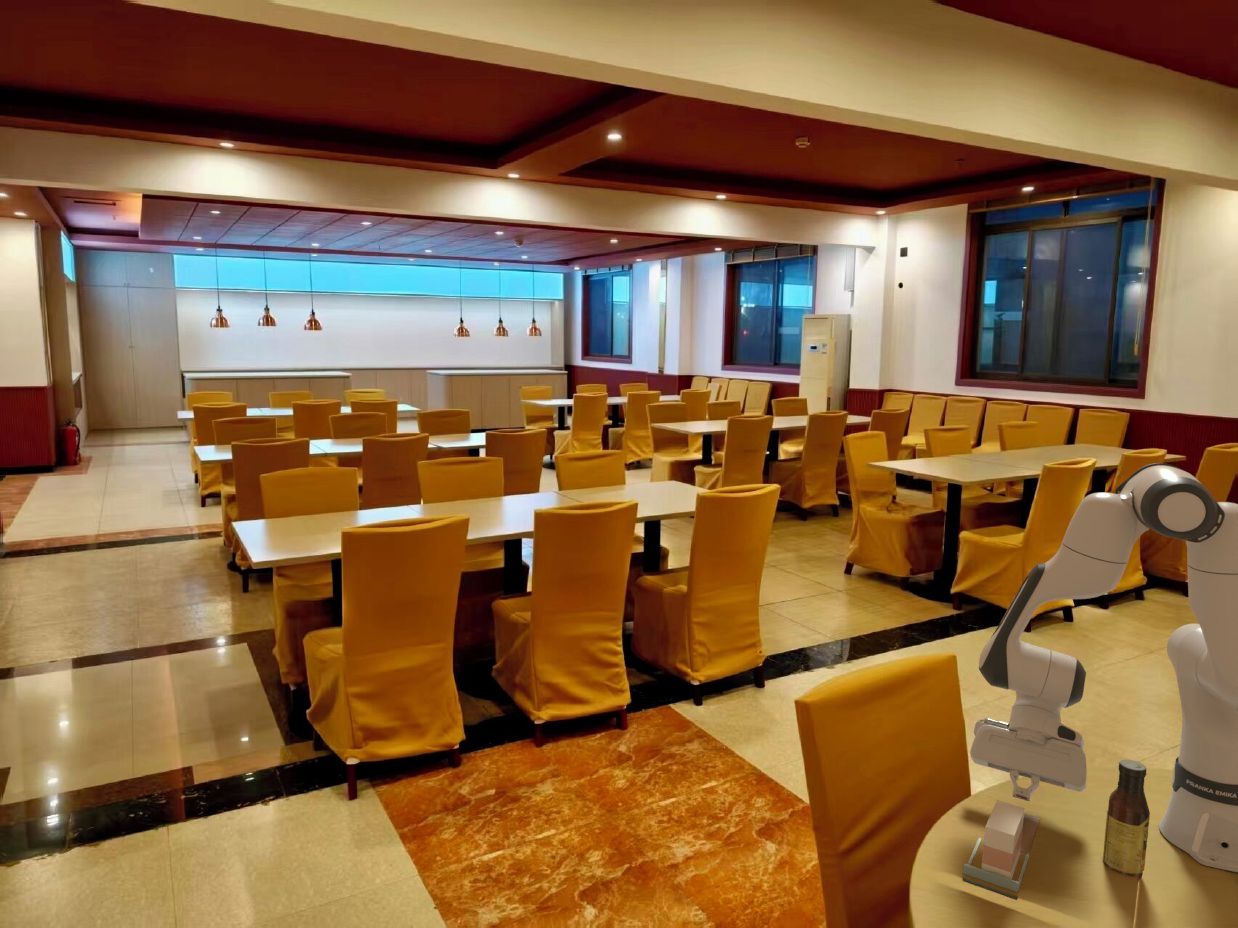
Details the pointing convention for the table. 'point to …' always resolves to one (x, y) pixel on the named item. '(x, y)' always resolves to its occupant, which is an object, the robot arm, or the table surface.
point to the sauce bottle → (1127, 822)
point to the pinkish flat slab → (1028, 832)
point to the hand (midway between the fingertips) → (1021, 798)
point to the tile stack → (1003, 839)
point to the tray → (993, 876)
